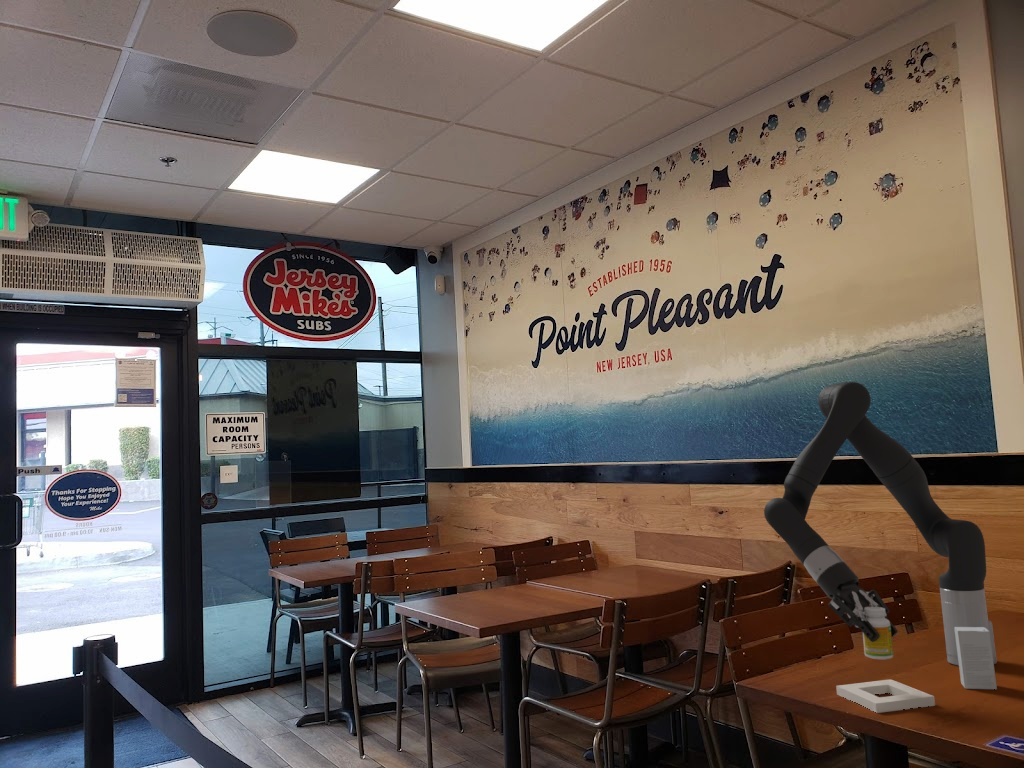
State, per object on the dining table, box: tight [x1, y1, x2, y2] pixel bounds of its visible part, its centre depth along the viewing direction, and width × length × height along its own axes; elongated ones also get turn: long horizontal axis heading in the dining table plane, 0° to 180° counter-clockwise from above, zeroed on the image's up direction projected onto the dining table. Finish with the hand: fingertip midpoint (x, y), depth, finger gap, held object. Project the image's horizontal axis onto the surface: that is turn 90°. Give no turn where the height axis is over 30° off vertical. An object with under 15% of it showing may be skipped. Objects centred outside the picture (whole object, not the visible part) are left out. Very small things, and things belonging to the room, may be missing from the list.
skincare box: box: [954, 627, 998, 691], centre depth 165 cm, size 6×4×12 cm
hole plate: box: [835, 678, 936, 714], centre depth 159 cm, size 13×13×2 cm
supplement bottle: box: [862, 606, 894, 660], centre depth 161 cm, size 5×5×10 cm
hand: (885, 636), depth 159 cm, fingers closed on supplement bottle, 5 cm apart
